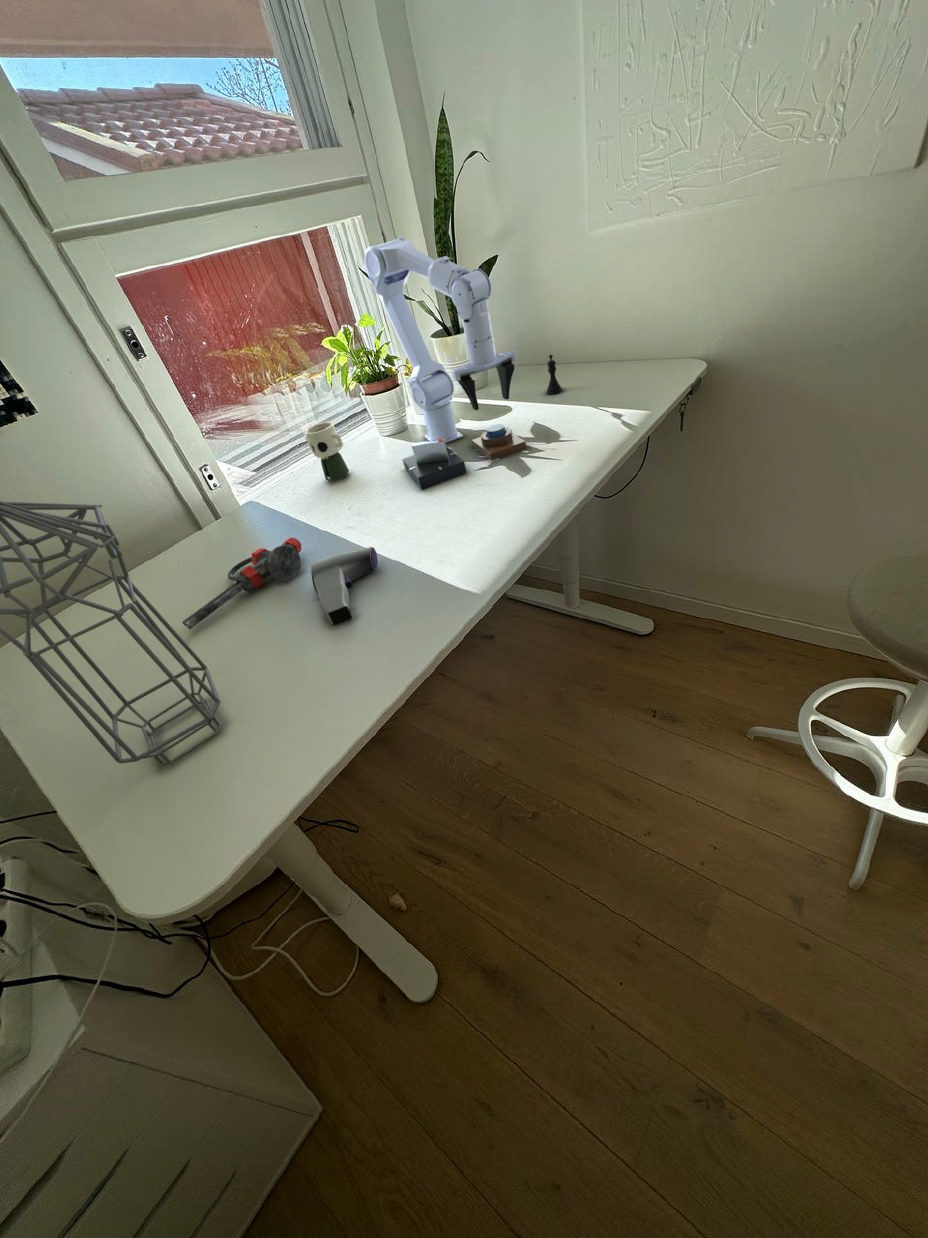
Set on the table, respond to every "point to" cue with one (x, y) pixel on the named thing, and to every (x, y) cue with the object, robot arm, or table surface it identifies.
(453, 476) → the tap deck
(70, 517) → the geometric lantern
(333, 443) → the character mug
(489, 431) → the button
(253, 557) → the chainsaw
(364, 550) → the infrared thermometer
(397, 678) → the table surface
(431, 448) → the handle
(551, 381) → the chess piece
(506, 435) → the button block
